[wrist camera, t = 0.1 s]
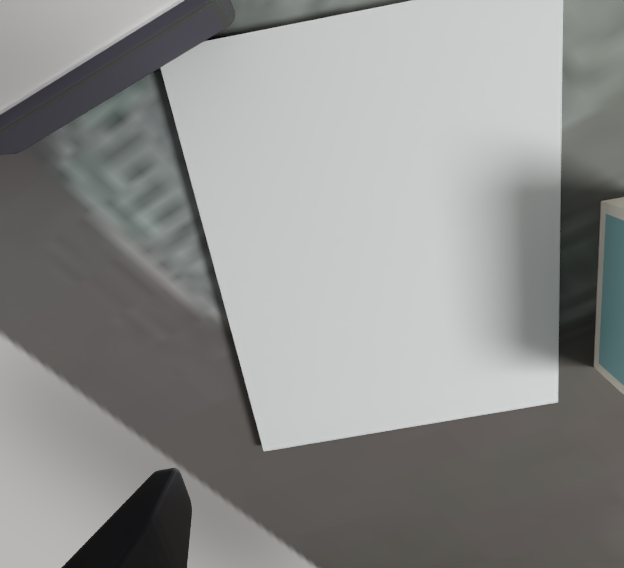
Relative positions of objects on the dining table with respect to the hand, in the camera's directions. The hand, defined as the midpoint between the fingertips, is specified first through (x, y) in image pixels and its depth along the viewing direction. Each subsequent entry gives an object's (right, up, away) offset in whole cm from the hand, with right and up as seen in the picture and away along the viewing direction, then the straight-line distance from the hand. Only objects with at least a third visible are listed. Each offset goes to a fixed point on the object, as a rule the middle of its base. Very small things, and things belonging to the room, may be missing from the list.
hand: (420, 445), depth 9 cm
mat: (+1, +5, +14) cm, 15 cm away
